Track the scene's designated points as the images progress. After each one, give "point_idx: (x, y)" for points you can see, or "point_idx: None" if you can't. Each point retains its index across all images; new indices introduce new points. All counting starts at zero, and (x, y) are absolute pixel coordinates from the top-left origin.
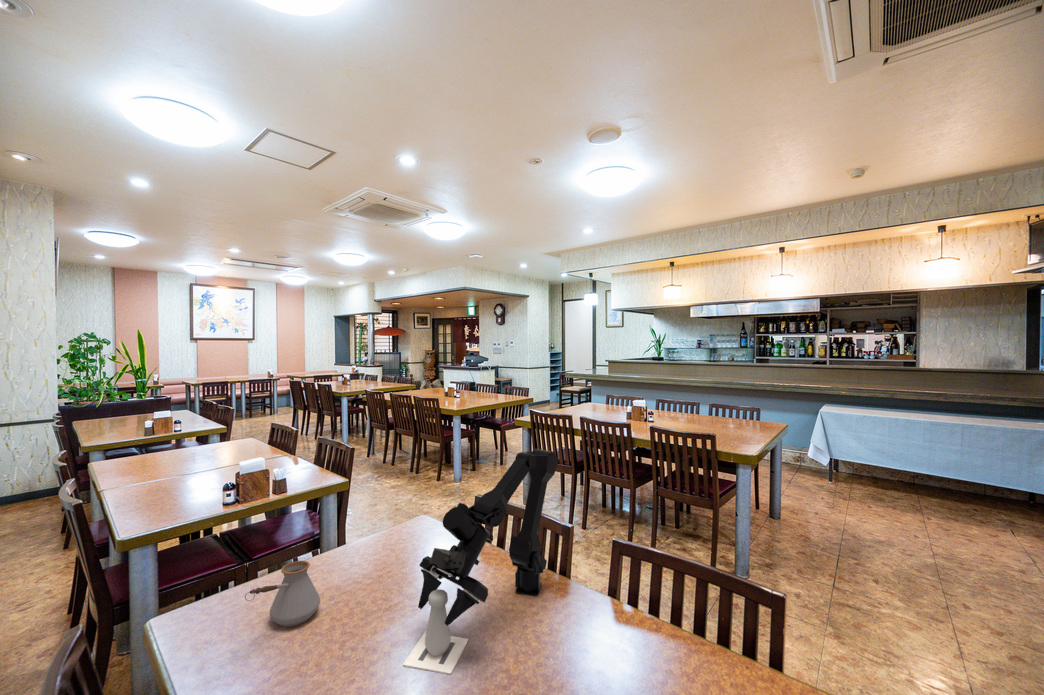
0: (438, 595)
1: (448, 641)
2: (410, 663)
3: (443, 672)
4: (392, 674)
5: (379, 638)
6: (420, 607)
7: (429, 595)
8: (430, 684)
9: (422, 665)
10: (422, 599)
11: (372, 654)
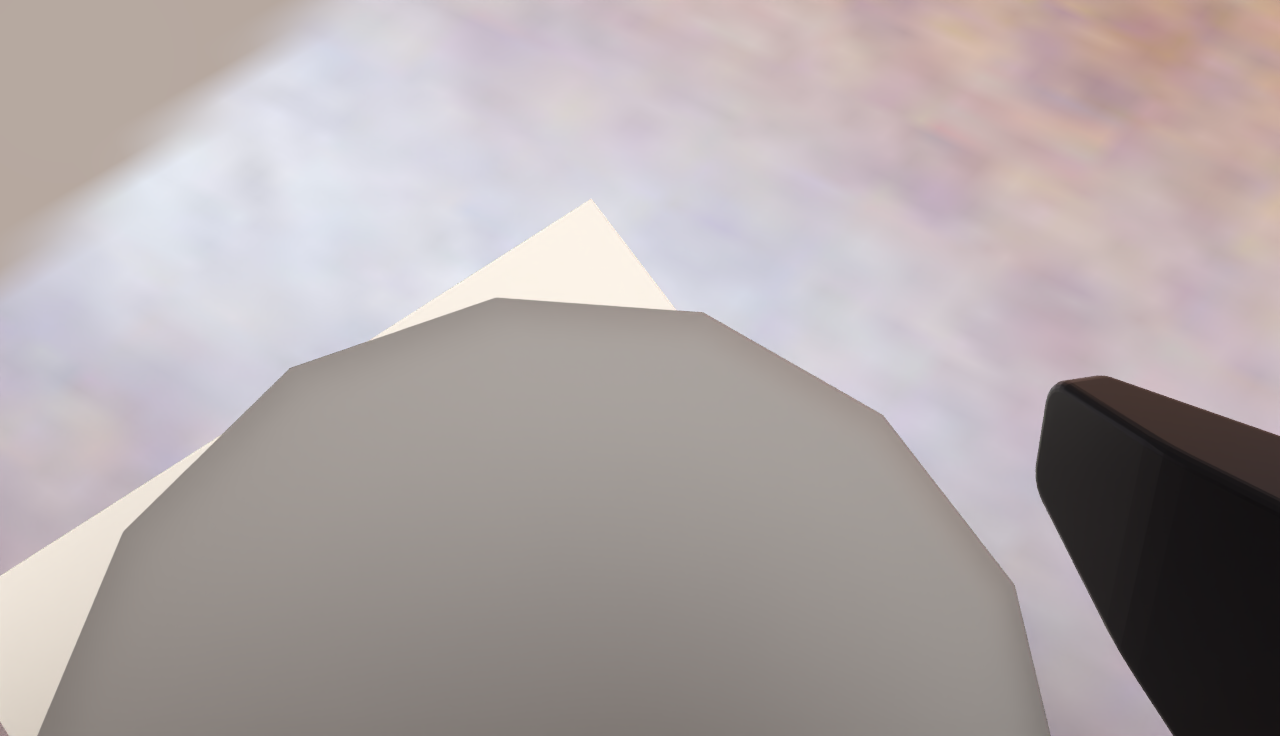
0: (321, 658)
1: None
2: (543, 281)
3: (50, 546)
4: (544, 54)
5: (1275, 226)
6: (1052, 436)
7: (812, 383)
8: (26, 308)
9: None
10: (1192, 474)
11: (1028, 39)
